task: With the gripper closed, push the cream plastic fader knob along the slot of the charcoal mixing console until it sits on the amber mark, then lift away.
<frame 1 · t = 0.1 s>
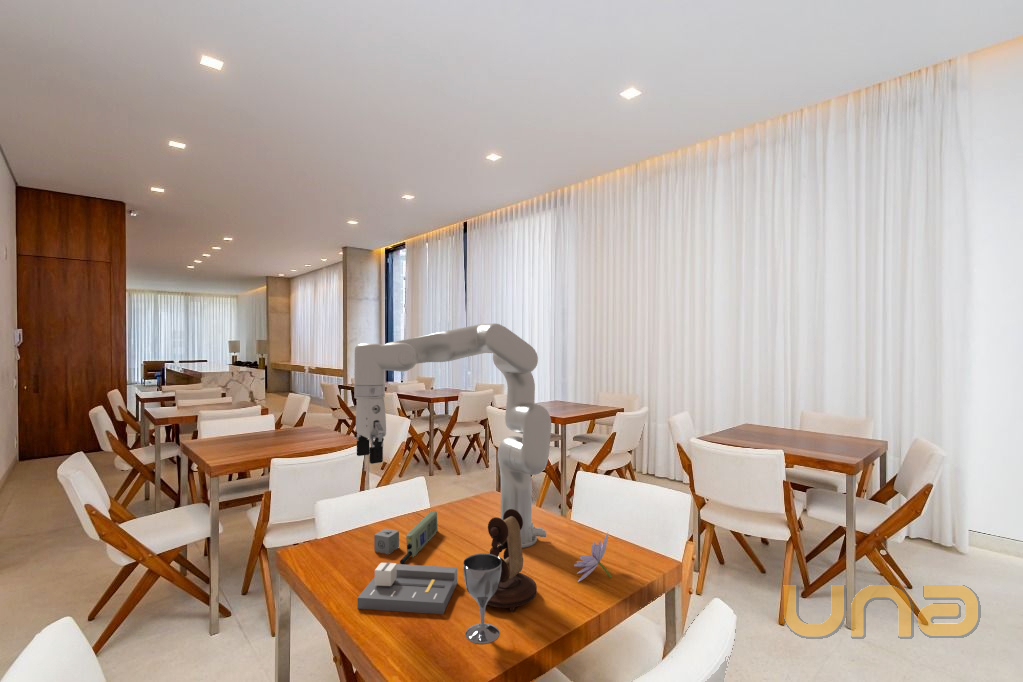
hand: (369, 458, 124), 31 cm above the table, tool pointing down, fingers open, 9 cm apart
console: (409, 595, 117), on the table
dice cube: (386, 550, 143), on the table
scroll: (505, 597, 116), on the table
fader knob: (385, 573, 118), point 5 cm above the table, slide at 6.0 cm
water lily: (591, 574, 128), on the table
handheld radio: (419, 548, 144), on the table
wine glass: (482, 634, 102), on the table
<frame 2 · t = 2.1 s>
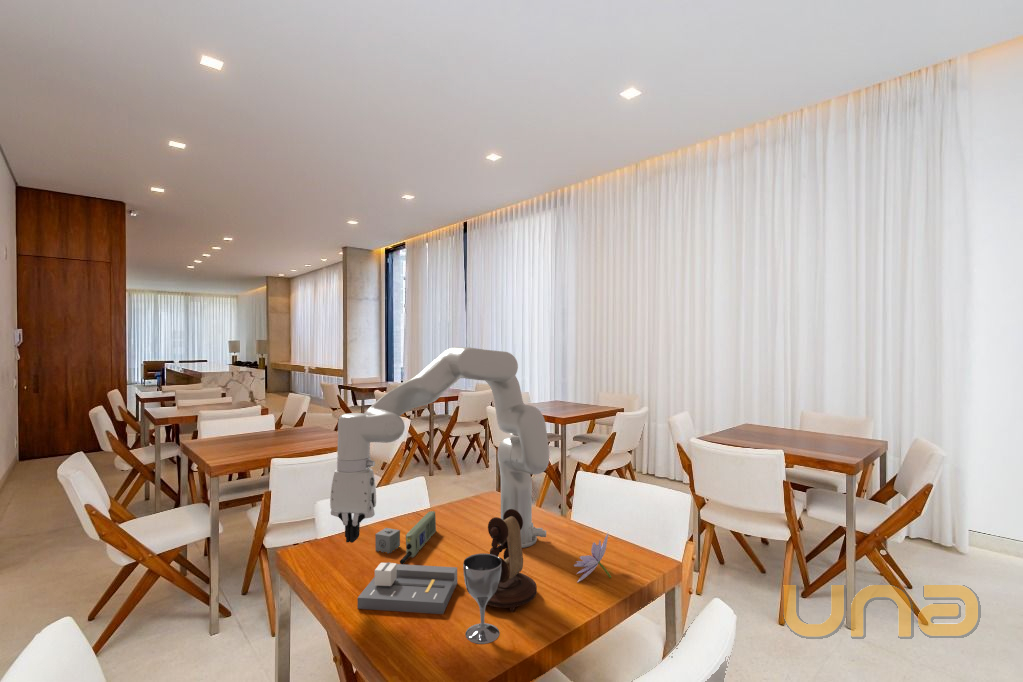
hand: (352, 540, 118), 13 cm above the table, tool pointing down, fingers closed
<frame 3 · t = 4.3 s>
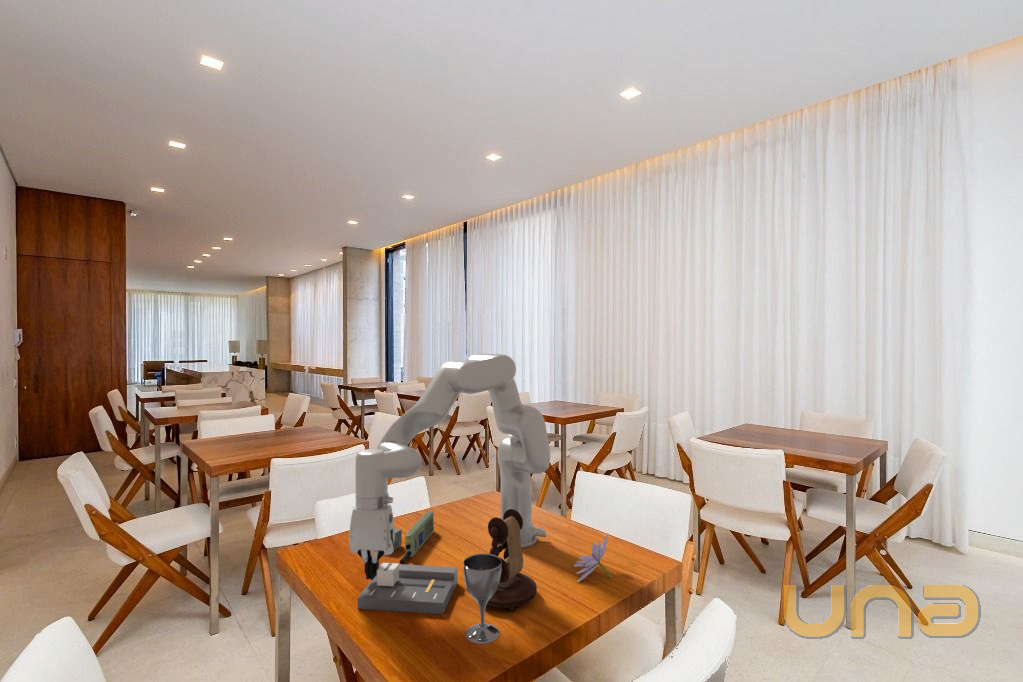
hand: (371, 576, 118), 4 cm above the table, tool pointing down, fingers closed
fader knob: (388, 574, 118), point 5 cm above the table, slide at 5.4 cm, touching gripper
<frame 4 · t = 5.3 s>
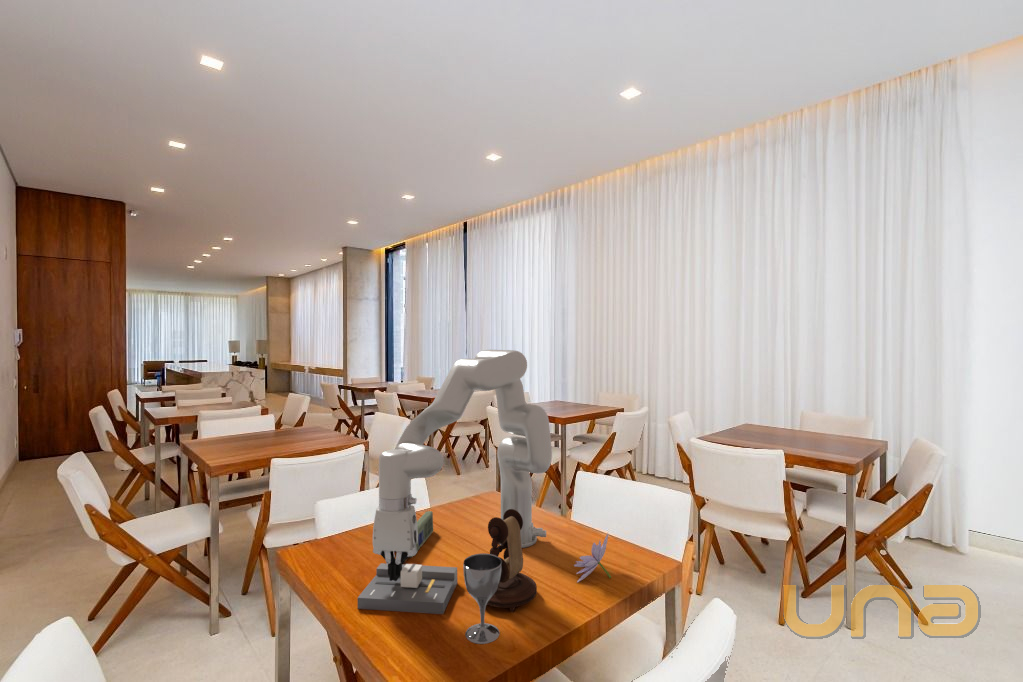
hand: (395, 578, 117), 4 cm above the table, tool pointing down, fingers closed
fader knob: (411, 575, 117), point 5 cm above the table, slide at -0.4 cm, touching gripper
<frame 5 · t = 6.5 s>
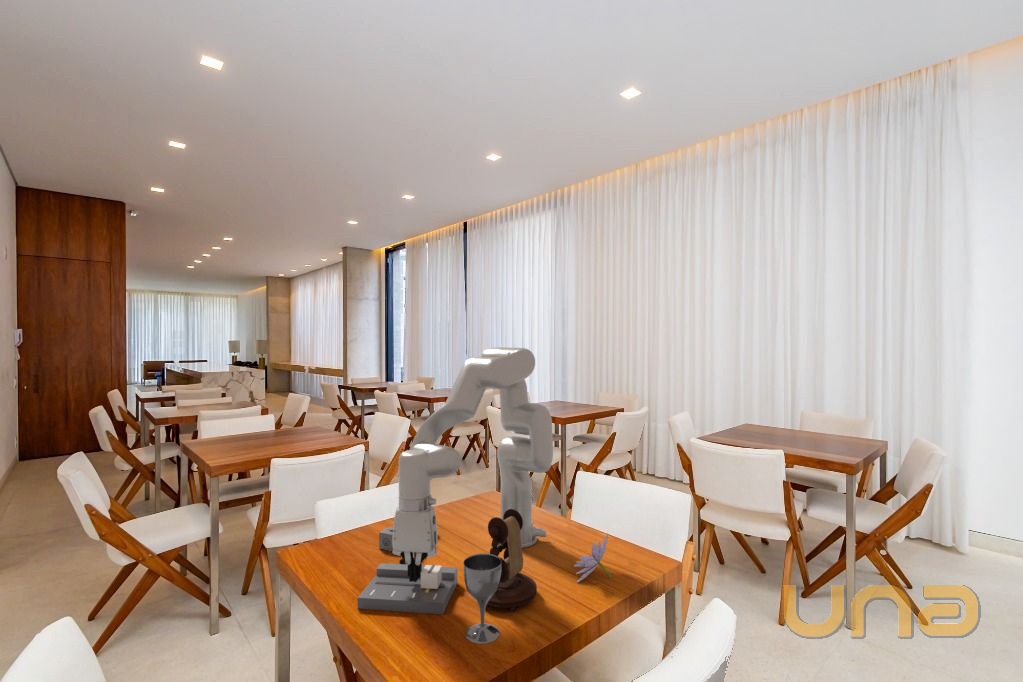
hand: (414, 579, 117), 4 cm above the table, tool pointing down, fingers closed
fader knob: (431, 576, 116), point 5 cm above the table, slide at -5.3 cm, touching gripper
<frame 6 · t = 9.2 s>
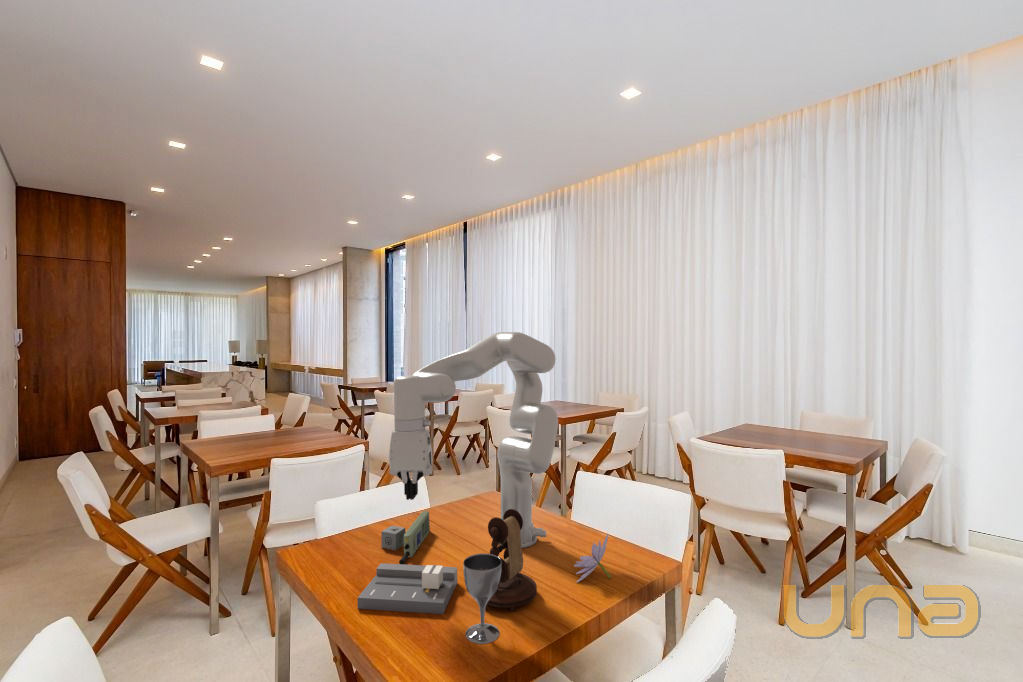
hand: (411, 497, 122), 22 cm above the table, tool pointing down, fingers closed
fader knob: (432, 576, 116), point 5 cm above the table, slide at -5.6 cm
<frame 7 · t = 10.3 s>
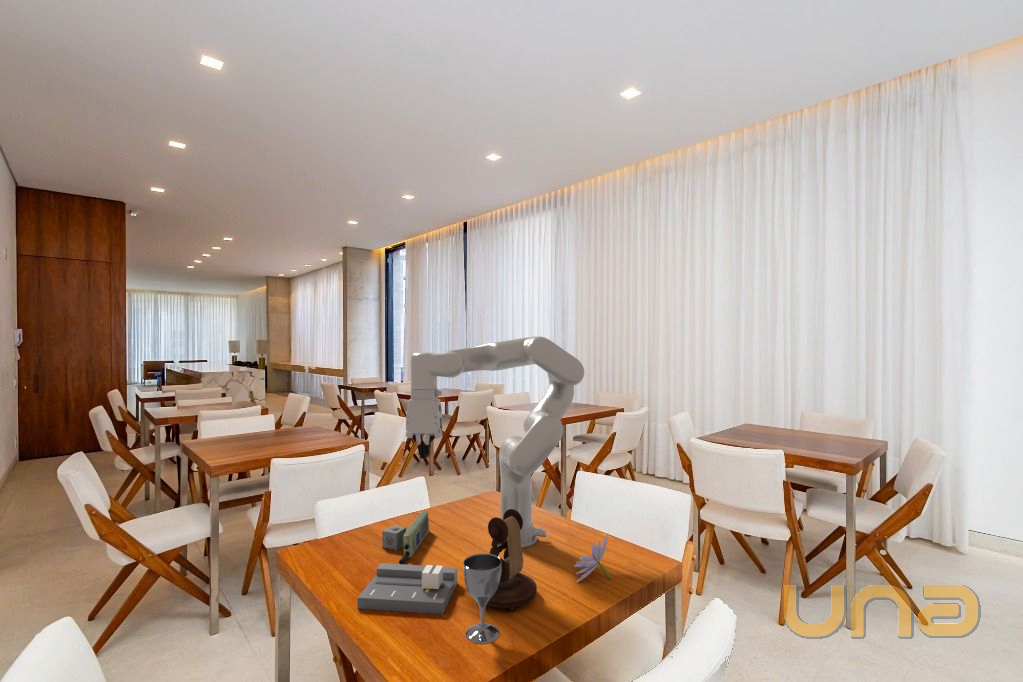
hand: (424, 457, 142), 27 cm above the table, tool pointing down, fingers closed
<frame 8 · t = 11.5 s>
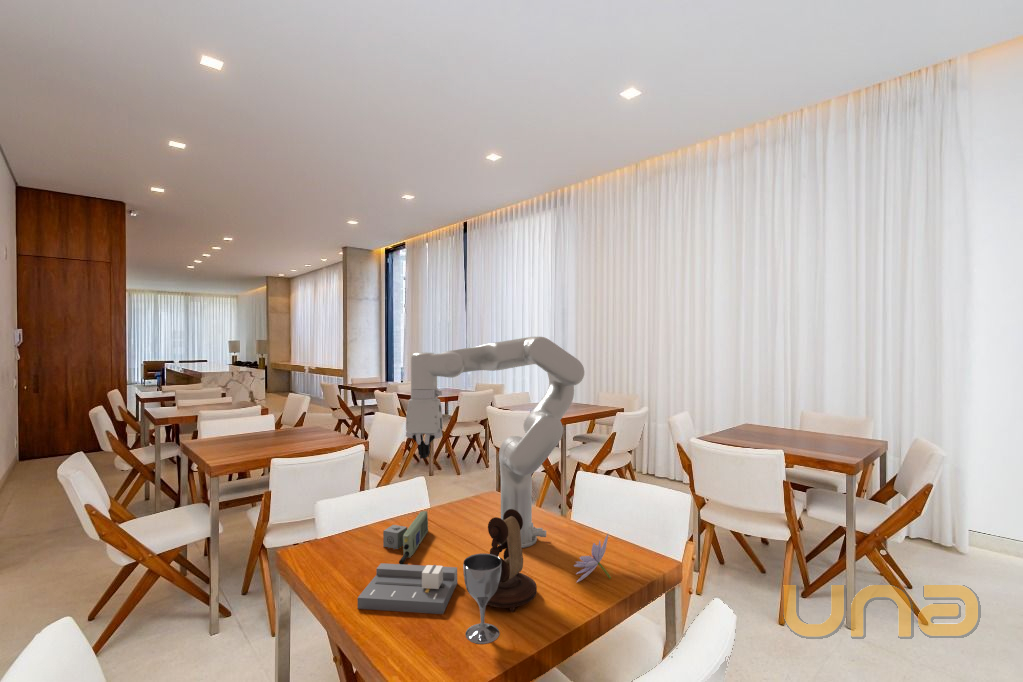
hand: (424, 457, 142), 27 cm above the table, tool pointing down, fingers closed
at the end: fader knob slide at -5.6 cm; scroll moved 0.3 cm from its start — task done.
